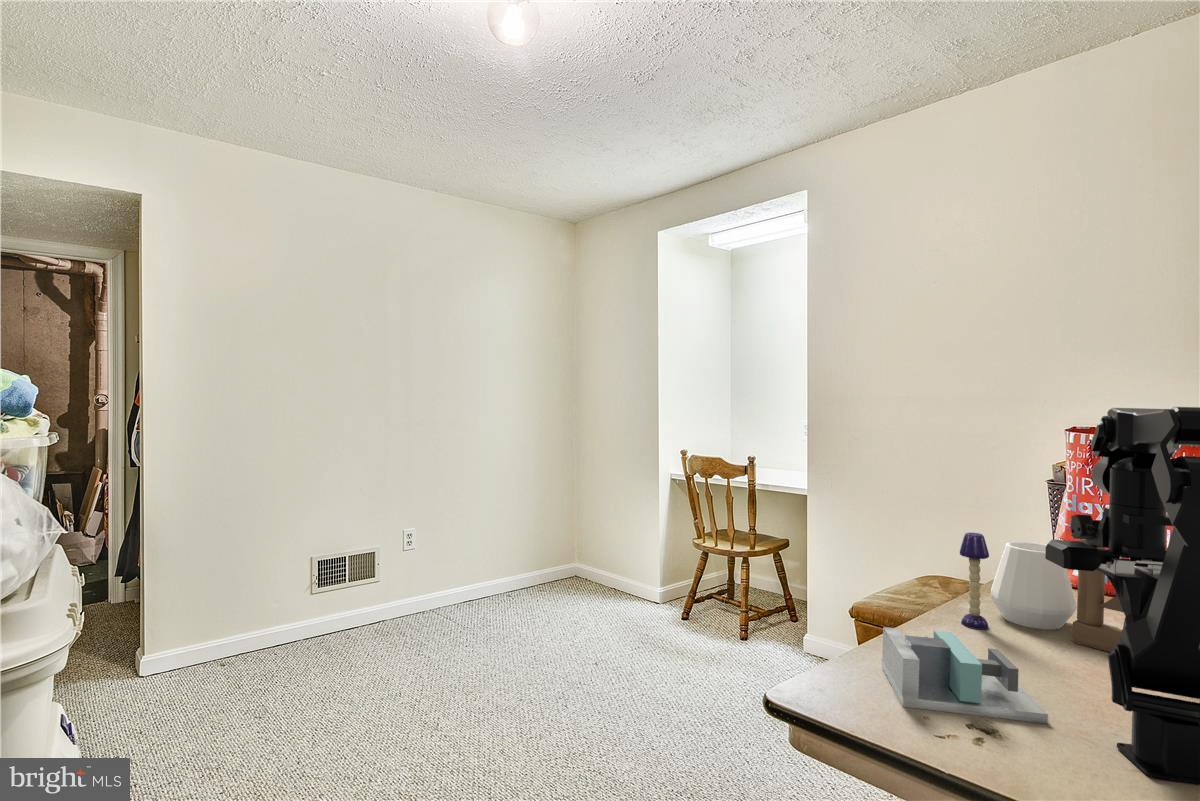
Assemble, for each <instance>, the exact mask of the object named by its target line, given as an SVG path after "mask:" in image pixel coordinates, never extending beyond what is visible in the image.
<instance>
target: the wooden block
mask: <svg viewBox="0 0 1200 801" xmlns="http://www.w3.org/2000/svg"><path fill="white" fill-rule="evenodd" d="M1078 541H1080V542H1083V543H1085V544H1087V543H1086V539H1078ZM1097 549H1103V550H1107V548H1106V547H1097ZM1105 576H1106V575H1105V574H1103V573H1101V572H1099V571H1097V570H1094V571H1083V570H1077V597H1076V598H1077V602H1076V607H1077V608H1076V620H1075V621H1074V620H1073V621H1072V634H1071V635H1072V636H1071V638H1072V639H1071V640H1072V642H1073V643H1074V644H1077V645H1082V646H1085V647H1089V648H1093V649H1096V650H1100V651H1103V652H1107V653H1109V654H1110V653H1111V651H1112V648H1113V645H1114V643H1117V644H1118V642H1119V639H1120V633H1121V632H1122V629H1121V628H1119V627H1118V626H1113V625H1109V624H1105V622H1104V619H1105V618H1104V616H1105V609H1107V610H1111V611H1116V612H1120V613H1124V611H1123V609H1122V606H1121V604H1120V601H1119V599H1118V596H1117V595H1115V596H1114V597H1112V598H1110V599H1108V600H1107V601H1105V587H1106V586H1105V585H1106V577H1105Z"/></svg>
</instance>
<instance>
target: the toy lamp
mask: <svg viewBox="0 0 1200 801" xmlns="http://www.w3.org/2000/svg"><path fill="white" fill-rule="evenodd" d="M986 542H987V541H986V539H985V537H984V535H983V534H982V533H980V532H966V533H964V535H963V539H962V542H961V545H960V549H959V555H960V556H961V557H964V558H968V563H969V566H968V571H969V574H968V580H969V582H968V588H969V590H968V596H969V600H968V604H969V608H968V612H969V613H967V614H965V615H963V617H962V618H961V621H960V622H961V624H962V625H963V626H964V627H968V628H970V629H976V630H986V629H988V628H989V624H988V621H987V619H985V617H984V616H982V615H981V609H980V606H981V601H980V598H981V592H980V590H981V583H980V581H981V575H980V572H981V566H980V564H981V560H986V559H989V557H990V554H989V549H988V545H987V543H986Z"/></svg>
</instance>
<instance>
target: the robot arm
mask: <svg viewBox="0 0 1200 801" xmlns="http://www.w3.org/2000/svg"><path fill="white" fill-rule="evenodd" d="M1106 414H1107V415H1103V416H1101V419H1100V422H1099V423H1097V425H1096V427H1095V431H1094V434H1093V437H1092V440H1091V442H1090V443H1091V444H1090V447H1091V451H1092V452H1093V455H1094V456H1095V457H1100V458H1101V457H1102V458H1101V459H1099V460H1097V462H1096V463H1095V464H1094V466H1093V468H1092V469H1091V478H1092V482H1093V483H1094V485H1095V486H1096V487H1097V489H1099V490H1100V491H1102V492H1104V493H1106V494H1108V495H1109V498H1108V500H1109V502H1108V505H1109V506H1108V508H1105V507H1103V510H1102V516H1101V520H1095V519H1094V518H1093V517H1092V516H1091V514H1073V515H1071V516H1070V517H1071V520H1070V532H1071V537H1072V538H1073V539H1075V540H1065V539H1051V540H1049V542H1048V543H1047V544H1046V545H1047V546H1046V553H1045V559H1047V560H1049V561H1051V562H1053V563H1055V564H1057V565H1059V566H1060V567H1062V568H1065V569H1067V570H1072V571H1078V570H1083V571H1094V570H1097V571H1099V572H1101V573H1103V574H1105V576H1106V577H1107V579H1108V581H1109V582H1110V584H1111V586H1112V587H1113V589H1114V592H1115V593H1116V596H1118V599H1119V601H1120V604H1121V606H1122V609H1123V611H1124V612H1123V615H1124V620H1123V626H1122V629H1121V630H1122V632H1121V633H1120V639H1119V642H1118V644H1117V643H1114V645H1113V648H1112V651H1111V653H1110V652H1109V654H1108V655H1107V660H1108V668H1109V673H1110V676H1109V677H1110V683H1111V702H1112V703H1114V704H1116V705H1118V706H1120V707H1122V708H1123V709H1124V710H1125V711H1126V712H1132V714H1131V743H1127V742H1126V743H1124V742H1117V743H1116V748H1117V749H1118V750H1119V751H1120V752H1121V753H1122V754H1123V755H1125V757H1127V758H1128V759H1129V760H1130V761H1131V762H1132V763H1134V765H1135V766H1137V767H1138V768H1139V769H1140V770H1141V771H1142V772H1143V773H1144V774H1145V775H1146V776H1148V777H1150V778H1153V779H1161V780H1170V781H1177V782H1184V783H1193V784H1200V702H1195V701H1190V700H1184V699H1179V698H1174V697H1173V698H1172V697H1167V696H1163V695H1157V694H1152V693H1146V692H1145V693H1144V692H1139V691H1133V688H1134V689H1139V690H1145V691H1152V692H1157V693H1162V694H1168V695H1173V696H1174V695H1175V696H1179V697H1185V698H1192V699H1196V700H1198V701H1200V456H1185V455H1180V456H1176V457H1173V456H1174V454H1175V453H1176V451H1178V450H1179V449H1180V446H1189V447H1200V406H1199V407H1198V406H1197V407H1196V406H1173V407H1172V408H1144V407H1142V408H1141V407H1140V408H1137V407H1136V408H1134V407H1111V408H1110V409H1108V410H1107V413H1106ZM1093 519H1094V520H1093ZM1167 527H1172V532H1171V535H1170V539H1169V541H1168V545H1167V544H1166V543H1167ZM1077 539H1078V540H1077ZM1079 539H1086V543H1087V544H1085V543H1083V542H1080V541H1079ZM1166 545H1167V546H1166ZM1097 547H1106V550H1103V549H1097Z"/></svg>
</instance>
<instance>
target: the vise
mask: <svg viewBox="0 0 1200 801" xmlns="http://www.w3.org/2000/svg"><path fill="white" fill-rule="evenodd" d="M880 663H881V666H882V667H881V666H880V667H881V669H882V668H883V669H882V671H883V670H884V671H883V672H885V673H884V674H885V676H886V675H887V676H886V678H887V677H888V678H887V680H888V679H889V680H888V682H889V681H890V682H889V684H890V683H891V684H890V686H891V685H892V686H891V687H892V689H893V691H894V693H895V695H896V697H897V699H898V700H899V702H900V704H901V707H904V708H910V709H911V708H912V709H921V710H929V711H937V712H945V713H946V712H947V713H954V714H964V715H971V716H979V717H987V718H996V719H1006V720H1013V721H1021V722H1031V723H1039V724H1048V723H1049V713H1047V712H1046V711H1045V709H1044V708H1043V707H1041V706H1040V704H1039V703H1038V702H1036V700H1035V699H1033V697H1032V696H1031V695H1030V694H1029V693H1028V692H1027V691H1026V690H1025V689H1024V688H1023V687H1022V686H1021V685H1020V684H1019V683H1018V692H1014V691H1007V690H1006V688H1005V687H1004V686H1003V685H1002V684H1001V683H1000V682H999V681H998V680H997V679H996V678H995V677H994V676H986V675H982V689H981V703H974V702H965V701H960V700H959V699H958V698H957V696H956V695H955V694H954V692H953V691H952V689H951V688H941V687H932V686H923V685H919V659H918V657H917V656H916V654H915V653H914V651H913V650H912V649H911V647H910V646H909V644H908V643H907V641H906V640H905V636H903V634H902V633H901V631H900V630H899V628H896V627H886V626H883V627H882V658H881V662H880Z"/></svg>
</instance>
